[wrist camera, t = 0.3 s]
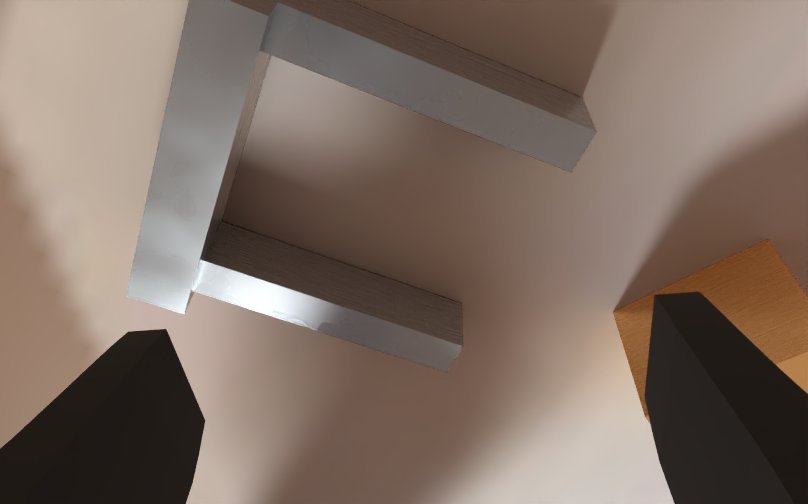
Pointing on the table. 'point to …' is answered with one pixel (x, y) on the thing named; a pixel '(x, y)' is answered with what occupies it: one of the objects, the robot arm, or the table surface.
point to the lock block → (734, 311)
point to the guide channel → (226, 134)
